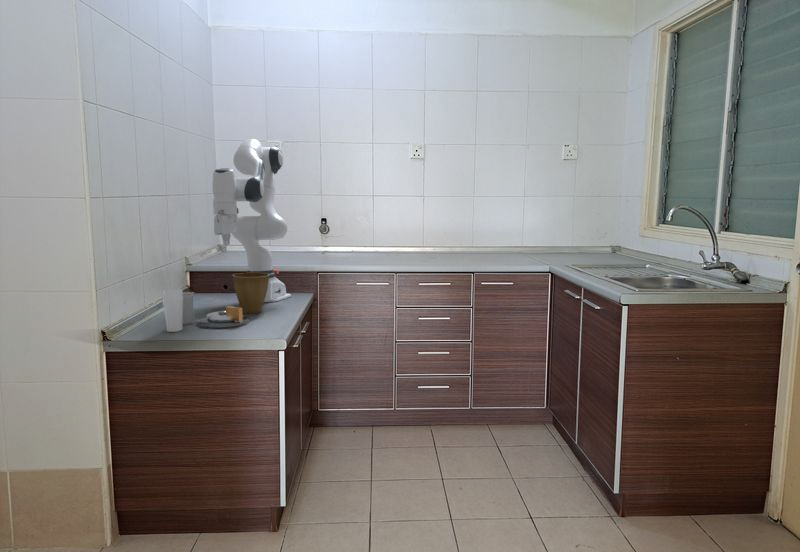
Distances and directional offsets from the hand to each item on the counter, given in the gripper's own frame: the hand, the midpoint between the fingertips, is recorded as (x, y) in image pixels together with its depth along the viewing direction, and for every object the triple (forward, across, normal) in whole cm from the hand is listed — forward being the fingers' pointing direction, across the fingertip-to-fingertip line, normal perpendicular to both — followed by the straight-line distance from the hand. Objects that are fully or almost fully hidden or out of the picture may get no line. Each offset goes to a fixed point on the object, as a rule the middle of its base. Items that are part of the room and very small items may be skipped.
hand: (226, 244), depth 232 cm
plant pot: (+29, +9, -7) cm, 31 cm away
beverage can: (+29, -13, +13) cm, 35 cm away
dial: (+28, -13, -2) cm, 31 cm away
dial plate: (+29, -12, -1) cm, 32 cm away
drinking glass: (+29, -25, +13) cm, 40 cm away
